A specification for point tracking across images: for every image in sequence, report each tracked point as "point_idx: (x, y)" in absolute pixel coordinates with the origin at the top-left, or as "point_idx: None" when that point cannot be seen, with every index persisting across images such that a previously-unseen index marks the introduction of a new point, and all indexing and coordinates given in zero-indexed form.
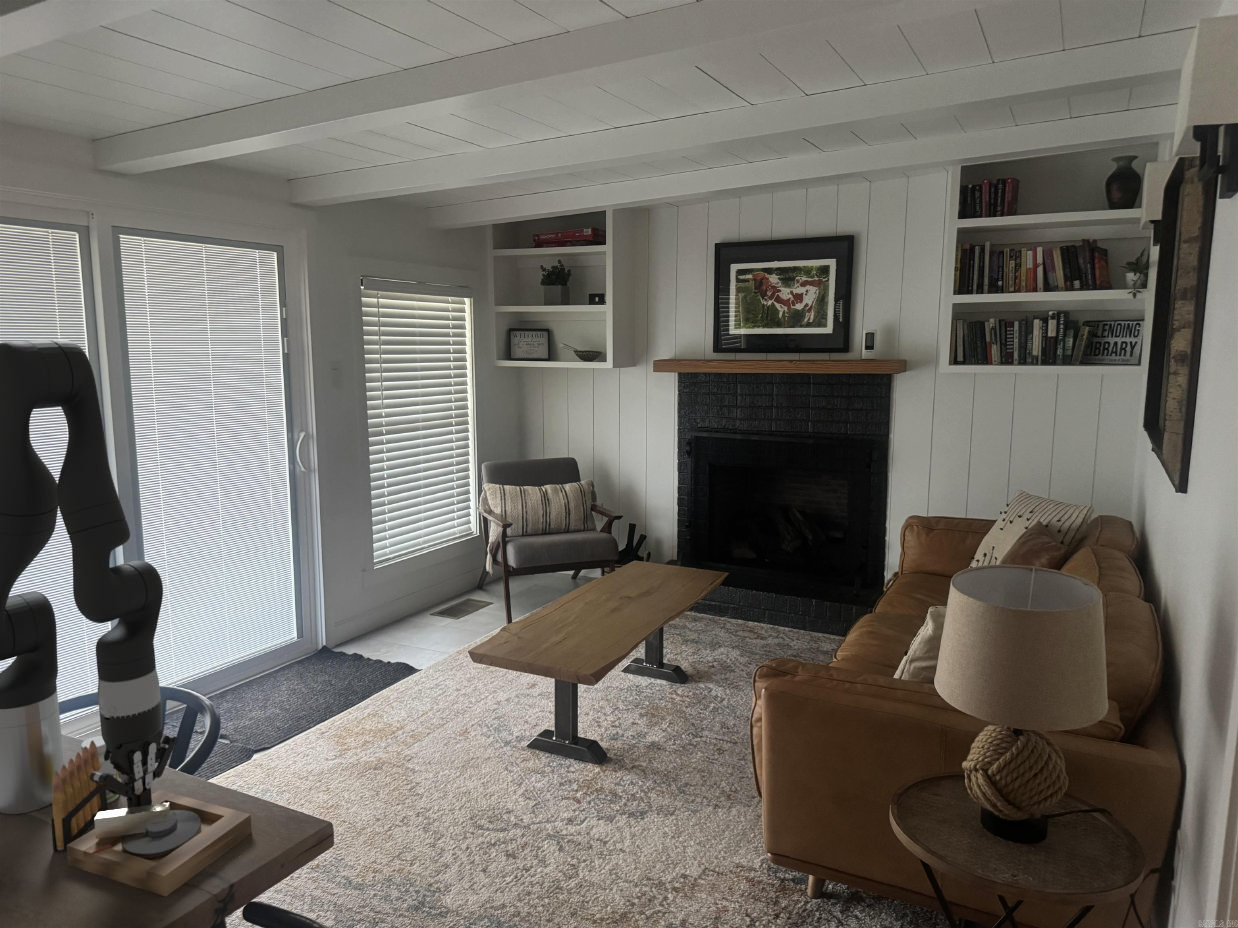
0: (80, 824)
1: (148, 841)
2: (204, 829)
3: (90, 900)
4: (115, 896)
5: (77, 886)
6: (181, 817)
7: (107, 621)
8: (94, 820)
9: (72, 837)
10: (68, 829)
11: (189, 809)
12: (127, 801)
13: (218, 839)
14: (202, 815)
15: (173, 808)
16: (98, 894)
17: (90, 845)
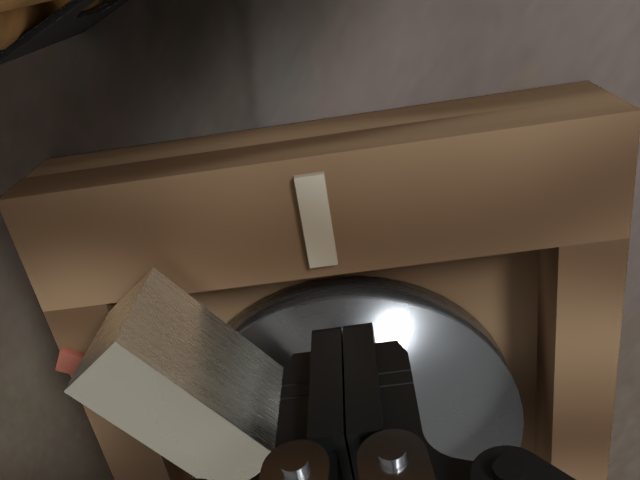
0: None
1: None
2: None
3: (32, 423)
4: (98, 464)
5: (25, 324)
6: (466, 428)
7: None
8: (68, 384)
9: (112, 6)
10: (63, 30)
11: (546, 380)
12: (280, 413)
13: None
14: (540, 435)
15: (542, 273)
16: (63, 417)
17: (85, 299)
